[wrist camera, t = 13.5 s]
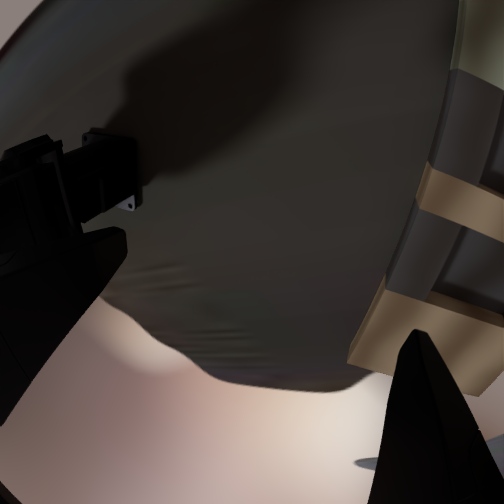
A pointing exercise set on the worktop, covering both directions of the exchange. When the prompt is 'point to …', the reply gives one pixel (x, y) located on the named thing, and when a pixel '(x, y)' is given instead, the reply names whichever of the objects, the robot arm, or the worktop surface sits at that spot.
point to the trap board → (453, 224)
